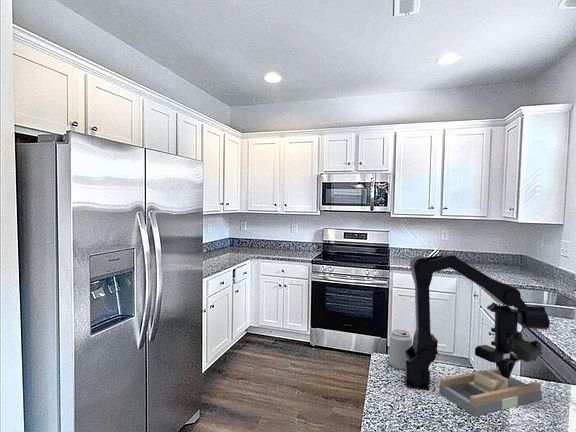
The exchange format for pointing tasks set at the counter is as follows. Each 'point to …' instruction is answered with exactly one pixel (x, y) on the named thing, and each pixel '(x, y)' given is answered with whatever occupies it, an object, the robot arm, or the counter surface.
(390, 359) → the can
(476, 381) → the maple block
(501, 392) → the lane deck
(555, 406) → the counter surface
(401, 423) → the counter surface
